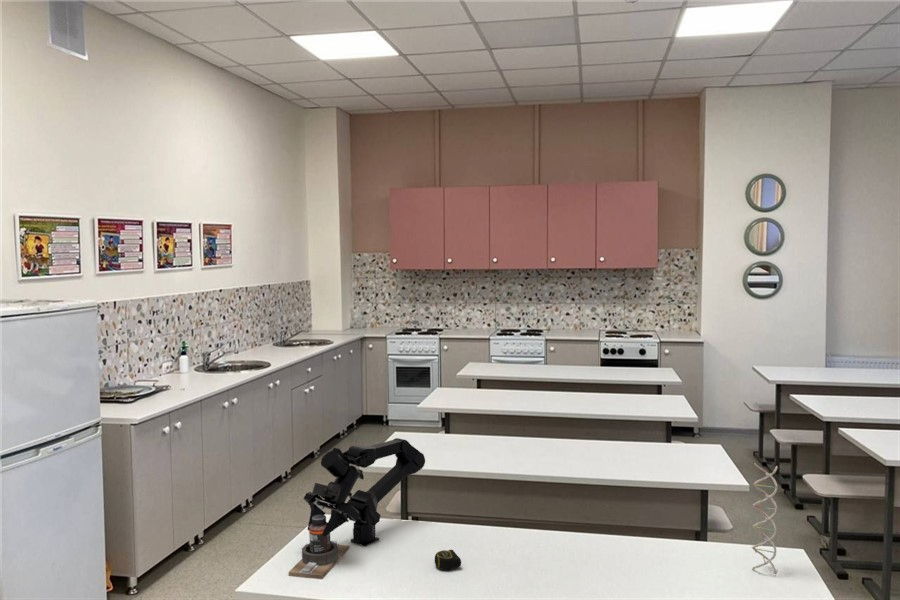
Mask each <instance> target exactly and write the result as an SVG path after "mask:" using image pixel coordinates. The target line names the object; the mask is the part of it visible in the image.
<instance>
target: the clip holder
mask: <svg viewBox="0 0 900 600" xmlns="http://www.w3.org/2000/svg"><path fill="white" fill-rule="evenodd" d="M330 541H331V551H330V552H327V553H323V554H310V542H309V543H306V544H305V545H304V546H303V547H302V548H301V559H299V561H298V562H297V563H296V564H295V565H294V566H293V567H292V568H291V569H290V570H289V571H288V576H290V577H300V578H308V579H319V580H323V579H324V578H325V576H326V575H327V574H328V573H329V572H330V571H331V570H332V569H333V568H334V566H336V564H337V563H338V562H339V560H340V559H342V557H344V556H345V554H346V553H347V552H348V551H349V550H350V545H348V544H340V542H339V543H338V541H337V540H330Z"/></svg>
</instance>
